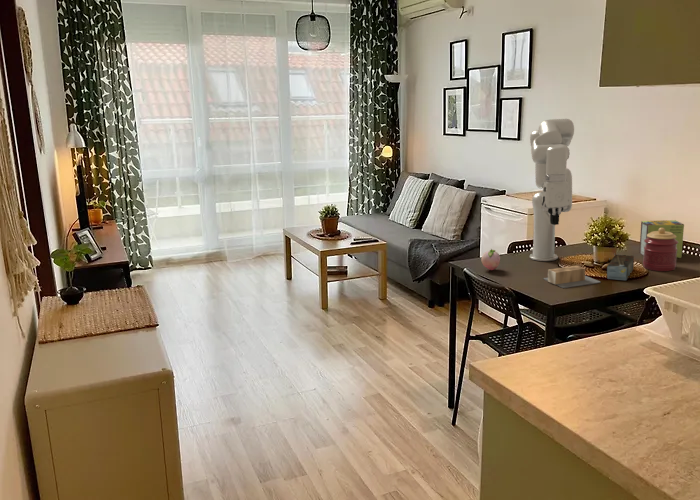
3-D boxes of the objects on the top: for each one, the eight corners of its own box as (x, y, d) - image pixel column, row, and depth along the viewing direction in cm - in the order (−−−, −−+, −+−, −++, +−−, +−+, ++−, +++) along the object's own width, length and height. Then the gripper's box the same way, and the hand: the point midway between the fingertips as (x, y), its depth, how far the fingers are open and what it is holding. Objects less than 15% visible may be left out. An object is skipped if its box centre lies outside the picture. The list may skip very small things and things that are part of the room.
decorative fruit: (481, 267, 269) (481, 246, 267) (500, 267, 267) (500, 246, 265) (480, 273, 260) (480, 251, 258) (500, 273, 258) (500, 251, 256)
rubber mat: (542, 279, 247) (543, 278, 247) (579, 274, 251) (579, 273, 251) (563, 288, 234) (563, 287, 234) (600, 282, 238) (600, 281, 238)
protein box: (682, 257, 267) (684, 224, 264) (645, 258, 270) (648, 225, 266) (673, 252, 277) (676, 219, 274) (638, 252, 280) (640, 220, 276)
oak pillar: (548, 269, 242) (577, 265, 245) (547, 281, 243) (577, 277, 246) (555, 272, 237) (585, 268, 240) (554, 284, 238) (584, 280, 241)
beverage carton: (605, 279, 243) (606, 263, 242) (614, 267, 259) (614, 253, 257) (626, 281, 239) (627, 265, 237) (633, 269, 254) (634, 254, 253)
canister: (677, 272, 246) (680, 231, 242) (642, 270, 251) (645, 230, 247) (675, 264, 257) (678, 225, 253) (642, 262, 263) (644, 224, 259)
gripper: (544, 181, 225) (543, 227, 230) (578, 177, 229) (576, 223, 233) (533, 179, 232) (532, 224, 237) (566, 175, 236) (565, 220, 240)
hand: (554, 224), depth 235 cm, fingers closed
